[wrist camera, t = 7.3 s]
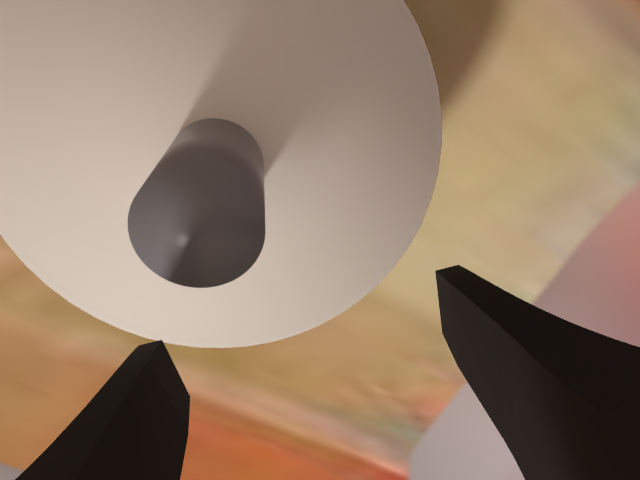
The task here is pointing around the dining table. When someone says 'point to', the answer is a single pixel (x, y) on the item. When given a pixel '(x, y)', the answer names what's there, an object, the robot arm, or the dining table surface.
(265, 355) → the dining table surface
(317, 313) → the lid
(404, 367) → the dining table surface
